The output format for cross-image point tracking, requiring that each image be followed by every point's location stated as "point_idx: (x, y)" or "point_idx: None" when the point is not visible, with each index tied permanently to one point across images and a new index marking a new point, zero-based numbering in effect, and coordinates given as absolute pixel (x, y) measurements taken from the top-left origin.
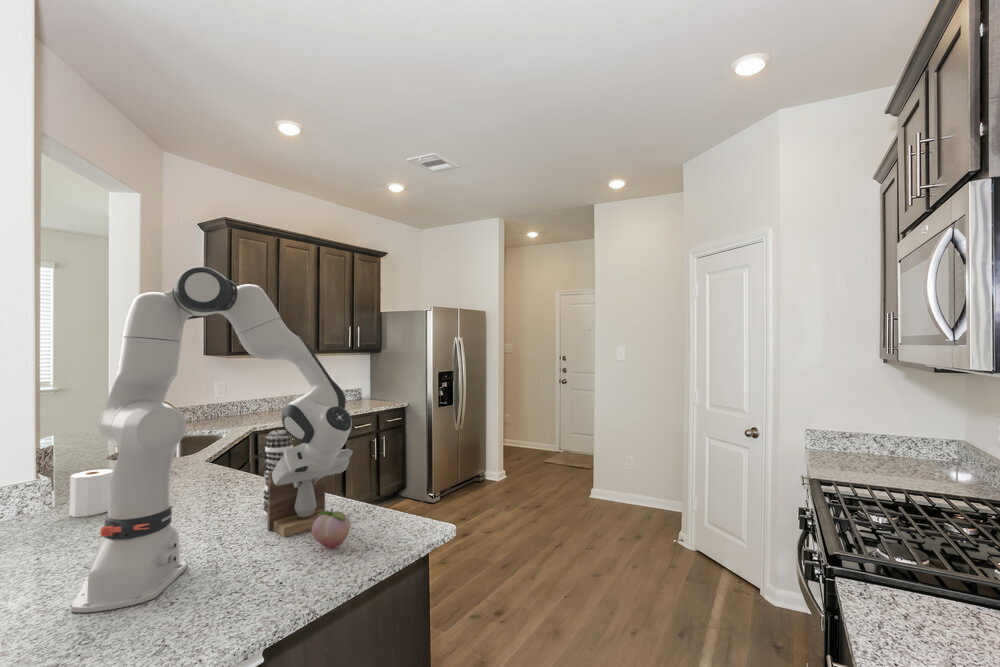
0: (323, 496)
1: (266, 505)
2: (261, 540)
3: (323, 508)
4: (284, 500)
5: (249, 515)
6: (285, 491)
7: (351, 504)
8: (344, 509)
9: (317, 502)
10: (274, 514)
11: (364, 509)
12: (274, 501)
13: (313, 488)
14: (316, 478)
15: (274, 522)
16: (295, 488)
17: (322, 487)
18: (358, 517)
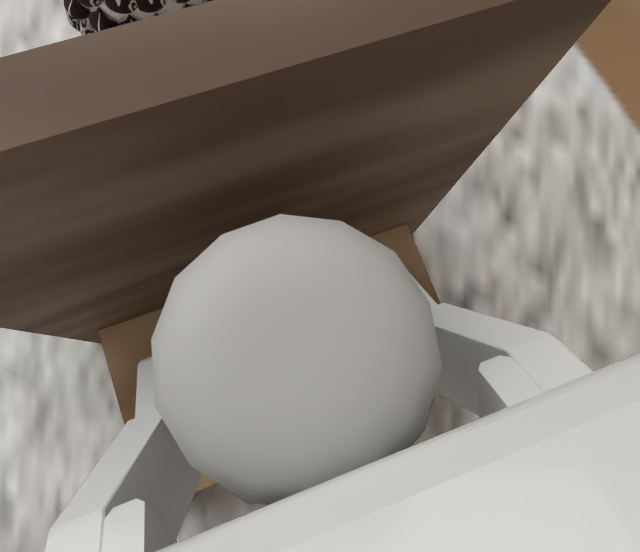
0: (442, 190)
1: (79, 29)
2: (41, 488)
3: (418, 220)
4: (127, 284)
5: (20, 23)
6: (105, 262)
7: (567, 92)
8: (526, 160)
9: (390, 217)
10: (86, 325)
11: (636, 212)
12: (34, 313)
13: (380, 182)
14: (447, 387)
15: (105, 349)
16: (205, 227)
17: (459, 159)
18: (599, 339)
